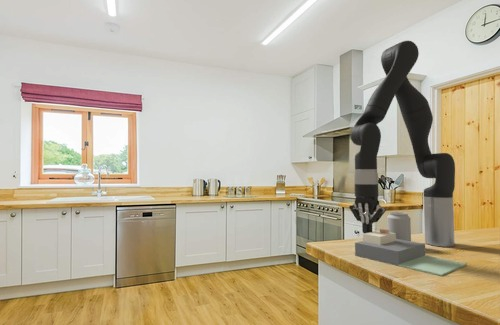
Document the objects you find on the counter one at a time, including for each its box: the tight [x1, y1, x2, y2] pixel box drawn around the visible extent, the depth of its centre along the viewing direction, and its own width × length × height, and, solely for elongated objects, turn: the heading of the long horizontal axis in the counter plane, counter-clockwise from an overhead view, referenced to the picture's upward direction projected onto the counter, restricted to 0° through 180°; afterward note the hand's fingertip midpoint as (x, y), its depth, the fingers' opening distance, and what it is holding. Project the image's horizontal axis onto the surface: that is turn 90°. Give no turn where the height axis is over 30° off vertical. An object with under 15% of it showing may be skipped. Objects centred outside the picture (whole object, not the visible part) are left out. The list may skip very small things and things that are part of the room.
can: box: [386, 211, 412, 241], centre depth 109 cm, size 8×8×12 cm
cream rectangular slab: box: [362, 228, 396, 245], centre depth 99 cm, size 9×6×4 cm, turn 126°
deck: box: [354, 239, 426, 267], centre depth 96 cm, size 16×14×4 cm
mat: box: [397, 254, 467, 277], centre depth 86 cm, size 16×11×1 cm
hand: (367, 234), depth 103 cm, fingers closed
